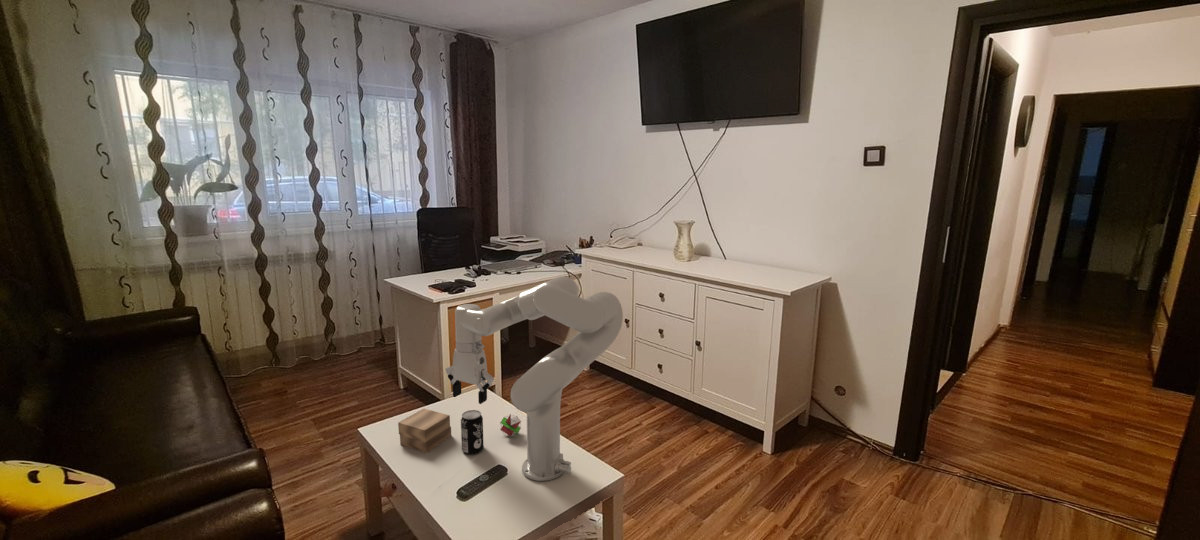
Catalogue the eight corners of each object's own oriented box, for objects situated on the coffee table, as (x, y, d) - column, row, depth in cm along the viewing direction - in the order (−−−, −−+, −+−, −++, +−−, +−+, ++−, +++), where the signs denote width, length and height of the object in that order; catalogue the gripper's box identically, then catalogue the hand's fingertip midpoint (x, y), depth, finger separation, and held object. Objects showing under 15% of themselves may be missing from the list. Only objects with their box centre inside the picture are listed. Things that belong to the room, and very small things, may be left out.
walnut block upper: (450, 426, 165) (449, 415, 165) (425, 442, 156) (424, 430, 155) (424, 419, 170) (423, 408, 169) (398, 434, 160) (398, 422, 159)
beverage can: (486, 445, 161) (485, 410, 159) (479, 456, 155) (478, 419, 153) (466, 443, 162) (465, 408, 160) (458, 454, 155) (457, 418, 153)
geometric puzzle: (496, 441, 164) (496, 418, 162) (503, 430, 170) (502, 408, 169) (518, 442, 163) (518, 419, 162) (524, 432, 170) (523, 410, 168)
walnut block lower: (451, 437, 166) (450, 426, 166) (427, 454, 156) (426, 442, 156) (425, 430, 171) (425, 419, 170) (400, 445, 161) (399, 434, 160)
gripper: (500, 346, 152) (500, 399, 155) (454, 337, 159) (455, 388, 162) (484, 354, 145) (485, 409, 149) (437, 344, 152) (439, 397, 156)
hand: (469, 398), depth 155 cm, fingers open, 9 cm apart
